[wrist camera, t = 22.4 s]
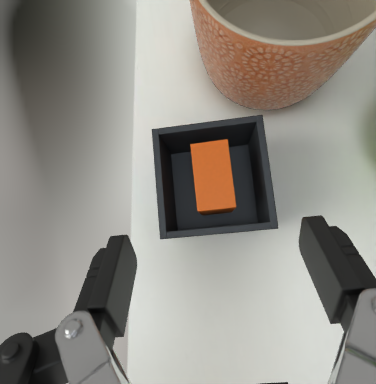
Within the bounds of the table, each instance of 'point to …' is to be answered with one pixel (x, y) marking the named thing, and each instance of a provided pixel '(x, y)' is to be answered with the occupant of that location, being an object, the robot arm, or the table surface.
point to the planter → (278, 45)
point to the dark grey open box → (241, 172)
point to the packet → (213, 177)
